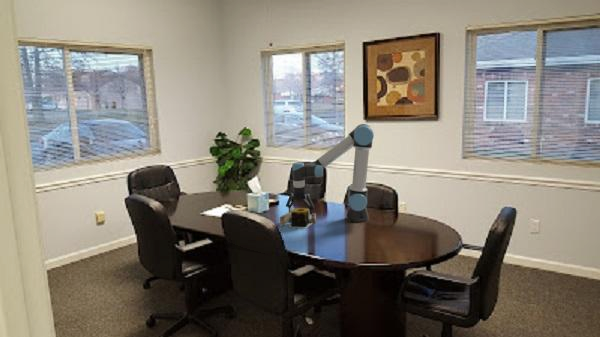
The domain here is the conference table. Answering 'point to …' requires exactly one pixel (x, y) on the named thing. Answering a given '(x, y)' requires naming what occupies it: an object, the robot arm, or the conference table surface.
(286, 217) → the arena
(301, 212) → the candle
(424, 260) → the conference table surface
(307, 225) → the pad
